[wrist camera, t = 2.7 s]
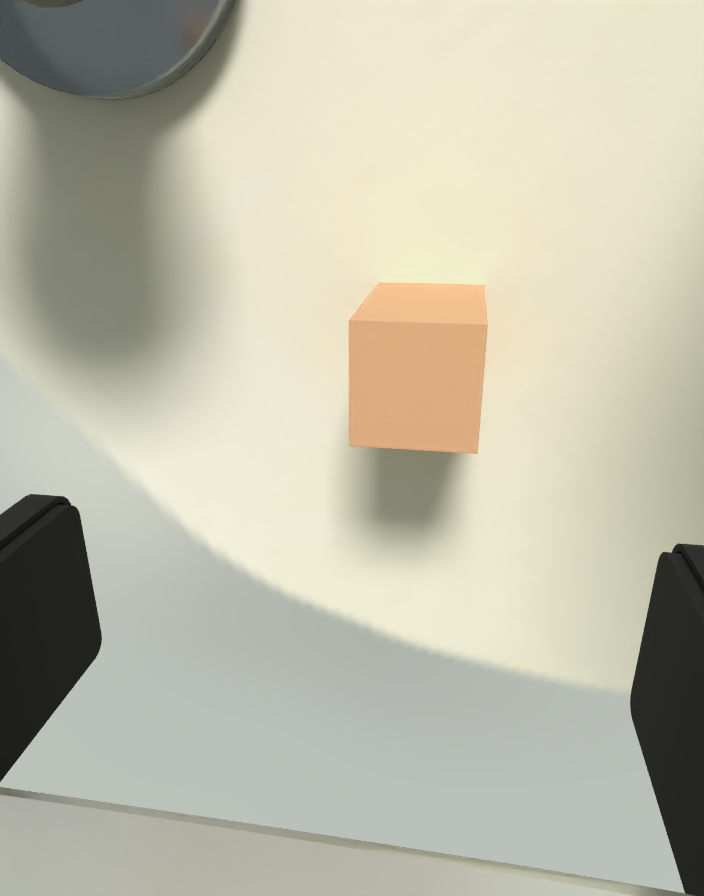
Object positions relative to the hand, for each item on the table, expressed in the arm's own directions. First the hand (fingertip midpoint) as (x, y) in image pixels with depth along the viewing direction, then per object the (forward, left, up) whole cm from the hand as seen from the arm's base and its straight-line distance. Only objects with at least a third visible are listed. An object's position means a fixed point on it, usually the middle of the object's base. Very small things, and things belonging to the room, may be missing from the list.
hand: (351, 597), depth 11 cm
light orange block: (0, 0, -17) cm, 17 cm away
